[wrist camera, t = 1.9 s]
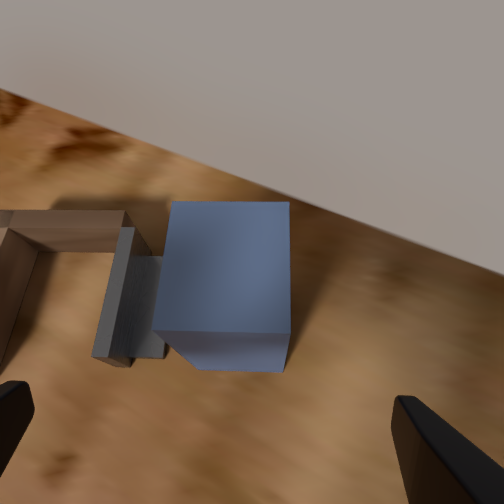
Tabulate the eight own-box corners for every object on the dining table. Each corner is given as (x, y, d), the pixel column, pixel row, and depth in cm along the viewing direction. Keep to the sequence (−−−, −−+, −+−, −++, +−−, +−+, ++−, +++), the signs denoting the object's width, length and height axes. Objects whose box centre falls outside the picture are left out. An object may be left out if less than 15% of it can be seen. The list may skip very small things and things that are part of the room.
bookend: (163, 368, 19) (145, 358, 17) (115, 367, 19) (91, 356, 17) (179, 252, 22) (167, 227, 20) (138, 251, 23) (120, 227, 20)
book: (282, 372, 19) (290, 333, 11) (198, 369, 19) (151, 330, 12) (282, 283, 21) (289, 201, 14) (207, 281, 22) (172, 200, 14)
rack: (112, 386, 19) (85, 379, 16) (-27, 381, 20) (-74, 373, 17) (141, 236, 23) (125, 210, 20) (26, 234, 24) (-6, 209, 21)
